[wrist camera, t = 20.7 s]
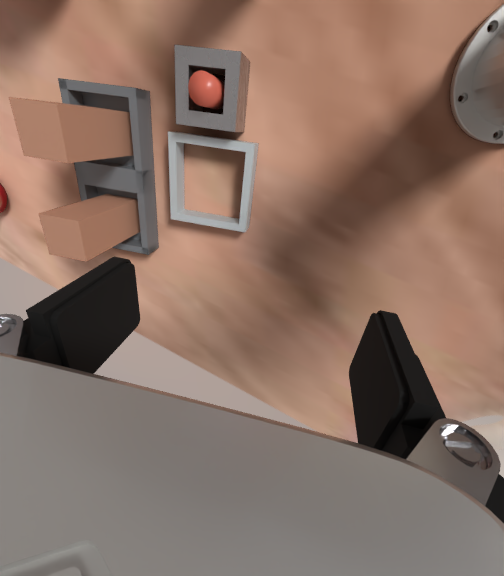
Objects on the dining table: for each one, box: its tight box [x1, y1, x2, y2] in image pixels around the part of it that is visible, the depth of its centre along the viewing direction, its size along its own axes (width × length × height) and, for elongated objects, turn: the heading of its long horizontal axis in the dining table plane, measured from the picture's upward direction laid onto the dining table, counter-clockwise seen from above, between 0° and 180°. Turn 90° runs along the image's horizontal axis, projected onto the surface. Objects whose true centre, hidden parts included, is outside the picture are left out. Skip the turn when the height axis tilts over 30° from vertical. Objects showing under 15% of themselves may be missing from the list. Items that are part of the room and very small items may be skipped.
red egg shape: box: [188, 70, 225, 109], centre depth 31 cm, size 3×3×4 cm
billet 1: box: [9, 97, 134, 163], centre depth 32 cm, size 5×5×12 cm
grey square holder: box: [175, 45, 250, 132], centre depth 32 cm, size 7×7×4 cm
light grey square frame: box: [168, 132, 259, 232], centre depth 38 cm, size 11×11×2 cm
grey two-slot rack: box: [58, 78, 159, 255], centre depth 39 cm, size 21×10×3 cm, turn 173°
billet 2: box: [39, 194, 140, 262], centre depth 38 cm, size 5×5×12 cm
